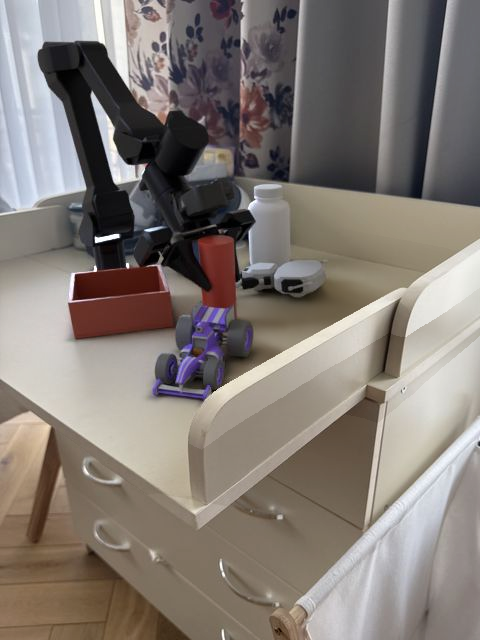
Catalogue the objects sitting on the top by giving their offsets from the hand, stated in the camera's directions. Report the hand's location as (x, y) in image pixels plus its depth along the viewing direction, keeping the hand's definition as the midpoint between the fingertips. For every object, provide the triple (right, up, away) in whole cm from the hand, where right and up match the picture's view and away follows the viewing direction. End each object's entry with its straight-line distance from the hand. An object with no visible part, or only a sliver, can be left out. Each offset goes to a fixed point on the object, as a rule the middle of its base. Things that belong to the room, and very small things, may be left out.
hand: (224, 285), depth 78 cm
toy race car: (-2, -12, -8) cm, 15 cm away
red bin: (-16, -4, +8) cm, 18 cm away
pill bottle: (+7, +7, +29) cm, 31 cm away
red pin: (-1, -5, +4) cm, 7 cm away
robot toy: (+9, +1, +16) cm, 19 cm away
